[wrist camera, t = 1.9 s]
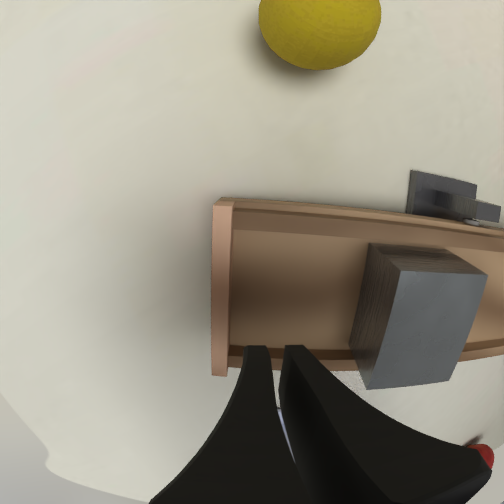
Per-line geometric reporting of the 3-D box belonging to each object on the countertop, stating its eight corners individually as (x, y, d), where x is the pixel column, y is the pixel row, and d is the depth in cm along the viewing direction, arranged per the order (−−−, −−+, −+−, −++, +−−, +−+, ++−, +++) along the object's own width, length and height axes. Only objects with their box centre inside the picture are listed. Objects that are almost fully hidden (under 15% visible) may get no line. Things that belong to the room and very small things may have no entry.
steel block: (420, 341, 16) (448, 380, 12) (348, 344, 16) (366, 389, 13) (446, 249, 14) (488, 275, 11) (368, 242, 15) (401, 270, 11)
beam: (518, 336, 18) (538, 354, 15) (219, 344, 19) (211, 378, 16) (549, 234, 15) (575, 246, 12) (223, 192, 16) (213, 200, 13)
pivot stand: (431, 347, 22) (461, 380, 17) (373, 354, 22) (400, 395, 17) (470, 183, 18) (517, 194, 13) (410, 170, 17) (459, 178, 13)
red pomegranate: (483, 437, 31) (505, 467, 24) (457, 460, 32) (476, 491, 25) (477, 430, 30) (501, 463, 22) (448, 455, 31) (470, 490, 23)
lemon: (334, 8, 14) (389, -55, 6) (349, 84, 16) (425, 47, 8) (246, 7, 14) (259, -72, 6) (258, 87, 15) (283, 35, 8)
